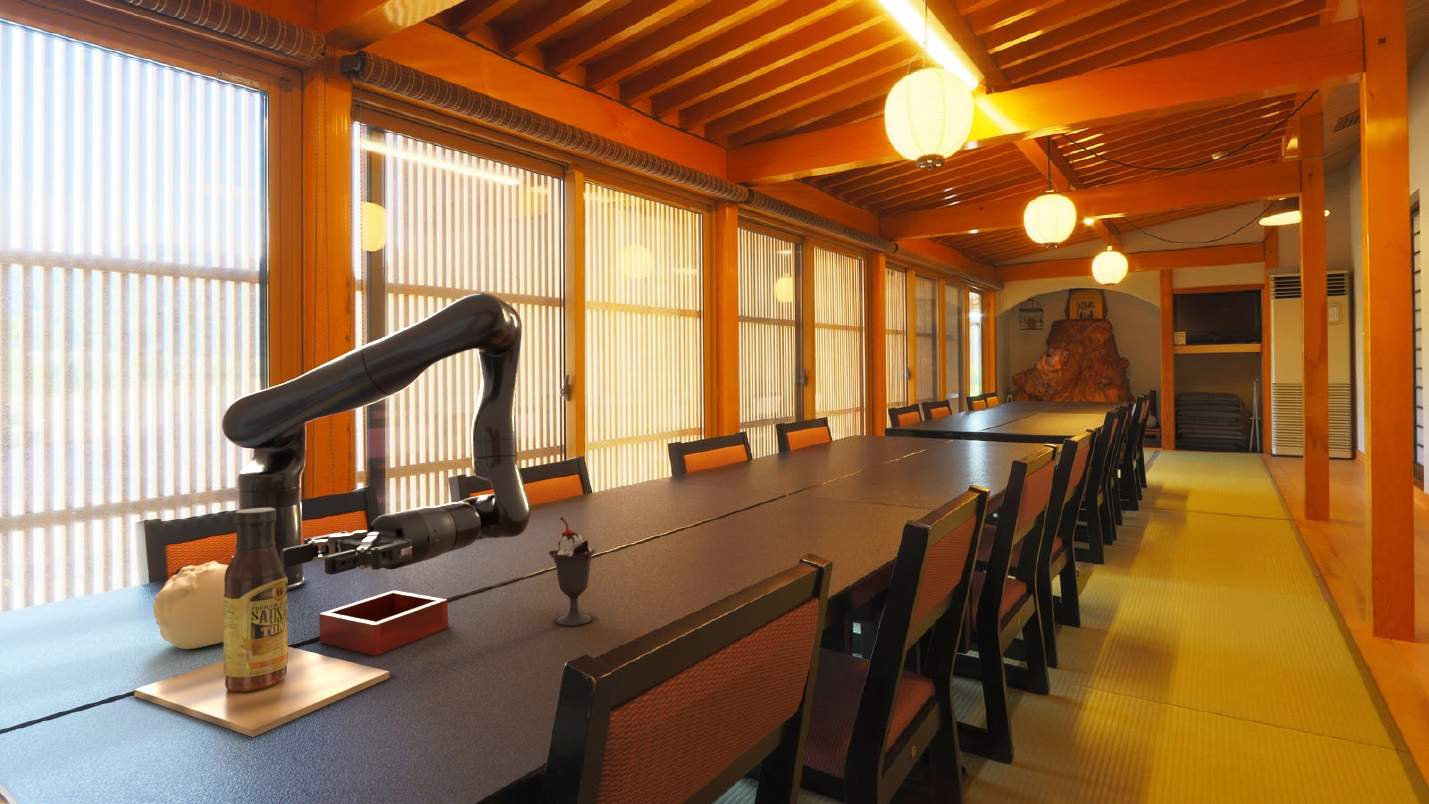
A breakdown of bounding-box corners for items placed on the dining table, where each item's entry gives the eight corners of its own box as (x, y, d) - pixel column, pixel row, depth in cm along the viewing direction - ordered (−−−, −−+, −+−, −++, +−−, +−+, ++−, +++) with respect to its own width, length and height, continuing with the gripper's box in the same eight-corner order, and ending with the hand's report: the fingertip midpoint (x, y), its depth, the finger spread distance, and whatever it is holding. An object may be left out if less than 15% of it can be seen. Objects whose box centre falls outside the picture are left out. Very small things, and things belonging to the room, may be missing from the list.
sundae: (553, 614, 110) (551, 514, 109) (598, 612, 111) (597, 513, 110) (547, 629, 103) (545, 523, 103) (595, 627, 104) (593, 521, 103)
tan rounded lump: (168, 634, 103) (165, 558, 103) (267, 622, 108) (265, 549, 107) (142, 663, 92) (139, 578, 92) (253, 648, 97) (250, 567, 97)
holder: (319, 643, 99) (318, 613, 99) (394, 616, 110) (393, 590, 109) (375, 656, 94) (374, 625, 94) (448, 627, 105) (447, 599, 105)
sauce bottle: (258, 697, 80) (252, 516, 80) (210, 693, 81) (203, 514, 81) (303, 673, 87) (298, 505, 86) (257, 670, 88) (252, 504, 87)
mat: (134, 696, 83) (133, 689, 83) (274, 649, 97) (274, 643, 97) (253, 737, 73) (252, 729, 73) (389, 678, 87) (389, 671, 87)
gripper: (378, 506, 107) (266, 526, 92) (449, 513, 100) (341, 536, 86) (379, 557, 107) (268, 586, 92) (450, 567, 100) (343, 600, 86)
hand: (304, 562), depth 89 cm, fingers open, 8 cm apart
